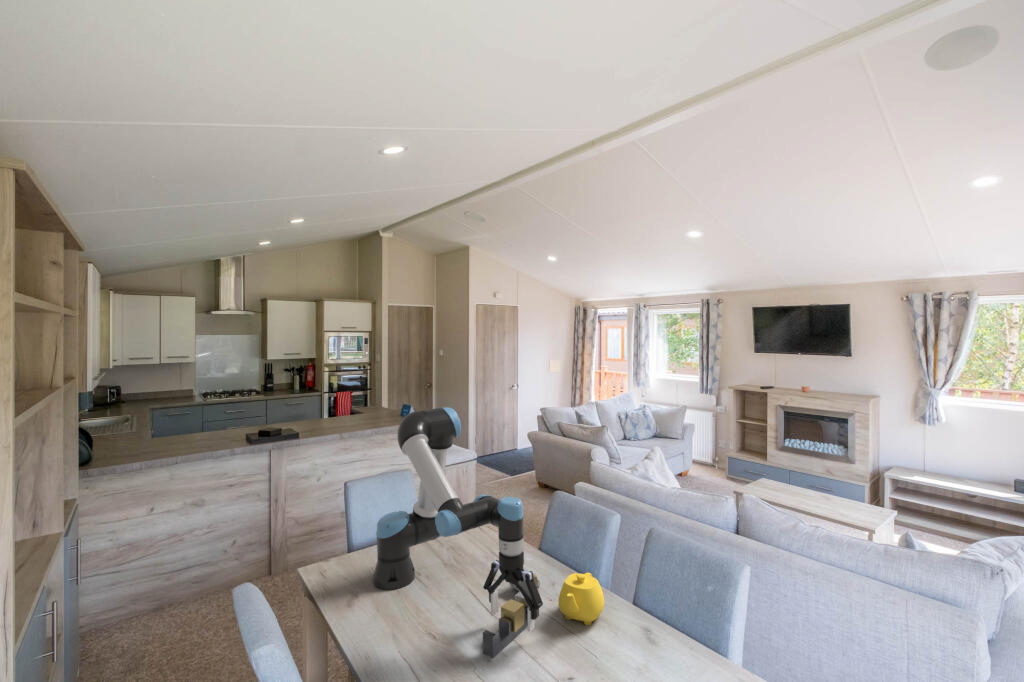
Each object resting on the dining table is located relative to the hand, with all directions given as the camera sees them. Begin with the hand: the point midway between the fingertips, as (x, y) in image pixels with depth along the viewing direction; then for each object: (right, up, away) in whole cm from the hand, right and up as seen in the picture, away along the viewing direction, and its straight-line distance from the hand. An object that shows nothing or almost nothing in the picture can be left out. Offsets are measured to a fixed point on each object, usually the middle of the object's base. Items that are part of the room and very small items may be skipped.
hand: (512, 621), depth 143 cm
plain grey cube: (+4, -1, +6) cm, 8 cm away
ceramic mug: (+5, -4, +25) cm, 25 cm away
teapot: (+21, -3, +8) cm, 23 cm away
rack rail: (0, -4, 0) cm, 4 cm away
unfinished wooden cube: (0, -1, 0) cm, 1 cm away
